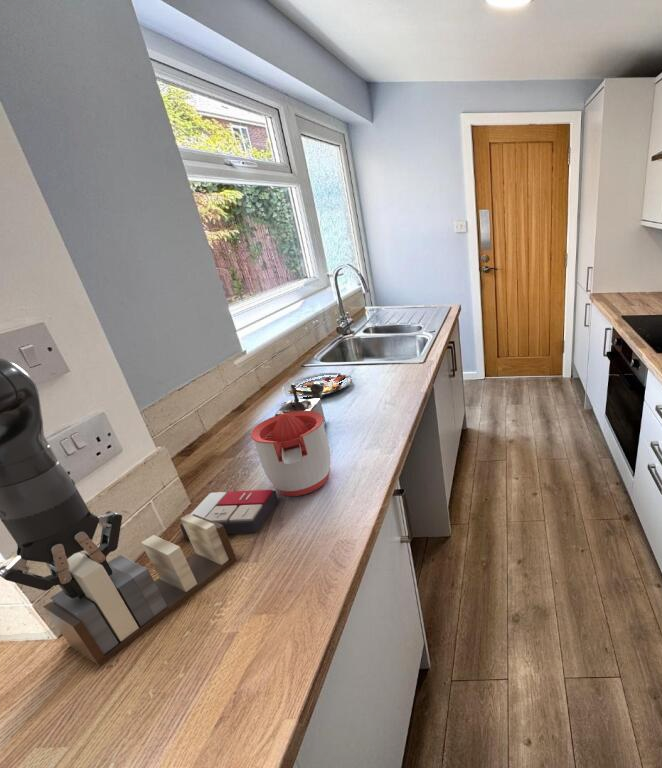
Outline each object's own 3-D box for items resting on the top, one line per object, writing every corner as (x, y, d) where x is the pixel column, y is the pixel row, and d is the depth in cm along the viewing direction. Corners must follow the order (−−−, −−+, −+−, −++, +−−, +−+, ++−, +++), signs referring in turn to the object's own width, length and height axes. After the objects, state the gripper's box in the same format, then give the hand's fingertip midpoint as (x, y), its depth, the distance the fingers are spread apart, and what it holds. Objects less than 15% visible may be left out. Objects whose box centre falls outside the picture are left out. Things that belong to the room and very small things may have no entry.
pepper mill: (280, 443, 122) (263, 389, 115) (294, 425, 132) (279, 374, 125) (333, 439, 123) (320, 385, 116) (342, 421, 133) (331, 371, 126)
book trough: (69, 645, 65) (39, 601, 61) (208, 547, 84) (192, 509, 80) (100, 666, 62) (69, 622, 58) (237, 560, 80) (221, 521, 77)
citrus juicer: (268, 515, 92) (242, 440, 84) (271, 475, 107) (249, 408, 99) (340, 494, 99) (323, 422, 91) (334, 459, 113) (318, 394, 105)
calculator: (252, 519, 86) (177, 522, 85) (257, 535, 88) (183, 538, 86) (275, 487, 96) (208, 489, 95) (279, 501, 98) (213, 504, 96)
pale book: (94, 624, 67) (54, 562, 62) (112, 611, 70) (75, 550, 64) (121, 641, 64) (81, 578, 59) (139, 627, 67) (102, 565, 61)
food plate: (361, 377, 170) (359, 369, 169) (337, 401, 149) (335, 392, 147) (303, 377, 171) (301, 370, 170) (271, 401, 150) (269, 393, 149)
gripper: (87, 466, 64) (131, 549, 71) (-51, 525, 52) (18, 617, 59) (113, 476, 61) (156, 561, 68) (-26, 541, 49) (43, 635, 56)
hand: (92, 587), depth 63 cm, fingers closed on pale book, 2 cm apart
